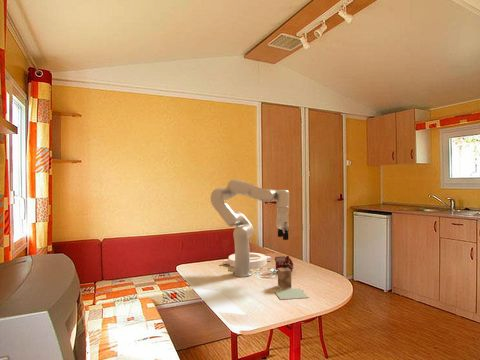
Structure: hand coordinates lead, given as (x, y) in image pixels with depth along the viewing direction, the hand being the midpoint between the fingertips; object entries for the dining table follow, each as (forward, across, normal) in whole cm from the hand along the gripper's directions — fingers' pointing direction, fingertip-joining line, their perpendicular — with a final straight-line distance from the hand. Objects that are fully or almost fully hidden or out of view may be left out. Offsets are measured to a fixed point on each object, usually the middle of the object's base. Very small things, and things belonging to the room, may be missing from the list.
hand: (282, 238), depth 180 cm
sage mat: (+25, +24, -4) cm, 35 cm away
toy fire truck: (+25, -14, +6) cm, 30 cm away
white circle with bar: (+26, -41, -13) cm, 50 cm away
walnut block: (+25, +13, -4) cm, 29 cm away
